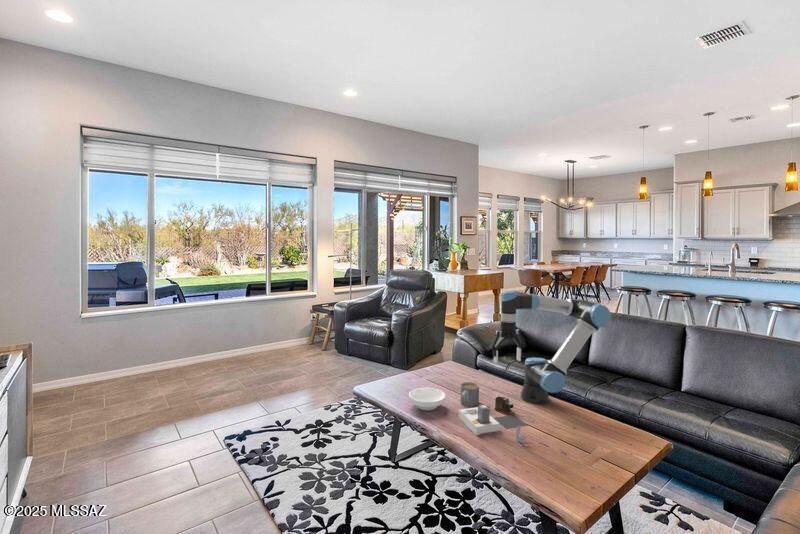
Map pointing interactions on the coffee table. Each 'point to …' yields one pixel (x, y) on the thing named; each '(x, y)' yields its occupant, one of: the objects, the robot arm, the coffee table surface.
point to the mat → (510, 421)
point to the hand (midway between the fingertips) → (507, 361)
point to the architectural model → (519, 436)
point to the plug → (483, 414)
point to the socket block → (471, 421)
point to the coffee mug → (469, 394)
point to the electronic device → (503, 405)
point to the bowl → (427, 398)
